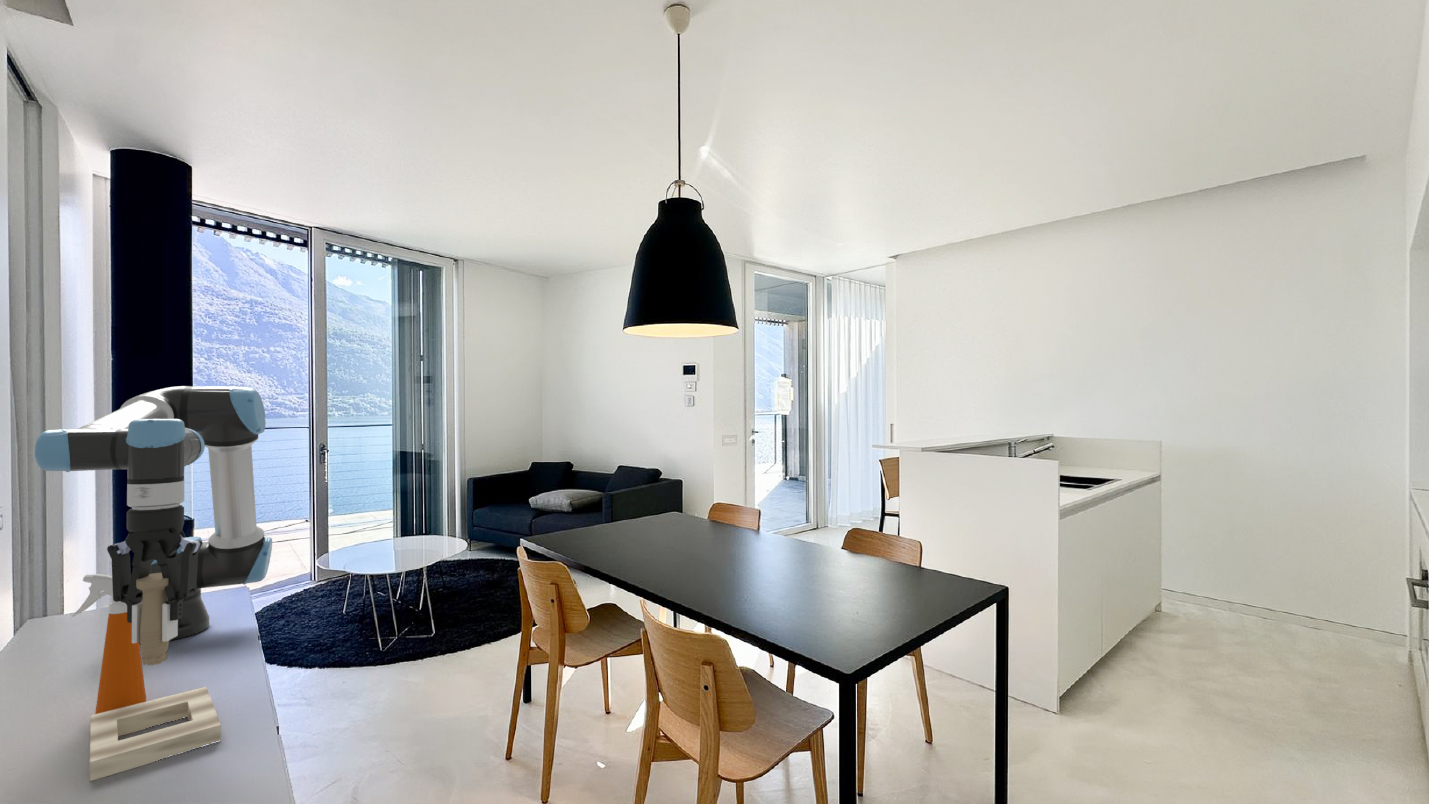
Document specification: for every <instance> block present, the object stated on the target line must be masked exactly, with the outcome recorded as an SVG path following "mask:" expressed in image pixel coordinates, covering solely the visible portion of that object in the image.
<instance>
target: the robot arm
mask: <svg viewBox="0 0 1429 804" xmlns="http://www.w3.org/2000/svg"><path fill="white" fill-rule="evenodd" d="M266 422H267V421H266V410H265V405H264V402H263V400H262V396H261V394H260V393H259V392H258V391H257V390H256V389H255V388H253V387H245V386H243V387H242V386H234V385H231V386H223V385H222V386H219V385H217V386H214V385H213V386H210V385H209V386H206V385H205V386H193V385H192V386H191V385H181V386H180V385H179V386H170V387H164V388H160V389H159V388H158V389H155V390H151V391H148V392H144V393H142V394H139V395H136V396H134V397H132V398H129V399H127V400H126V401H124V403H123V404H121V406H120V408H119V409H117V410H115V411H113V412H111V413H109V414H106V415H104V416H102V417H99V418H98V419H96V420H94V421H92V422H89V423H88V424H85V425H83V426H81V427H77V428H60V429H59V428H58V429H48V430H47V429H46V430H45V431H43V432H41V433H40V434H39V436H38V437H37V439H36V442H35V444H34V445H35V446H34V457H35V462H36V464H37V466H38V467H39V468H40V469H42V470H43V471H47V472H65V473H70V472H84V471H87V472H88V471H107V470H108V471H109V470H126V471H127V473H126V474H127V475H126V476H127V479H126V480H127V481H126V482H127V485H126V486H127V487H126V489H127V490H126V506H128V507H130V509H128V510H127V511H126V530H127V531H128V534H127V536H126V538H125V540H124V541H121V542H117V543H114V544H111V545H108V546H107V548H106V551H107V553H108V555H109V557H110V558H111V576H112V584H113V600H114V601H115V602H119V601H120V602H124V603H126V604H127V621H128V623H132V643H138V642H139V644H140V624H141V613H142V600H143V592H142V590H139V589H137V587H136V580H137V579H140V578H143V577H146V576H148V575H149V574H154V573H162V577H163V578H169V582H168V585H167V586H166V587H165V590H166V595H167V599H168V601H166V602H165V603H164V604H162V642H165V641H174V640H179V639H182V638H186V636H187V637H191V636H193V635H196V634H198V633H197V632H199V633H201V632H203V631H205V630H206V628H207V629H208V628H209V627H210V615H209V613H208V610H207V609H206V606H205V603H204V601H203V599H202V589H206V588H217V587H225V586H226V587H227V586H234V585H235V586H236V585H244V586H245V585H246V584H251V583H252V584H253V583H258V582H262V581H263V580H264V579H265V578H266V576H267V573H268V570H269V566H270V561H271V556H272V551H273V549H272V548H273V538H272V537H271V536H270V537H268V536H265V532H264V530H263V529H262V528H261V527H259V526H257V511H256V501H255V500H256V499H255V498H256V496H255V481H254V480H255V479H254V467H253V465H254V464H253V447H252V445H253V444H254V443H256V442H257V441H258V439H259V435H260V434H263V433H264V432H265V430H266V425H267V424H266ZM205 448H207V449H208V460H209V461H208V462H209V474H210V484H211V499H212V509H213V510H212V511H213V521H214V532H213V533H212V534H211V535H210V536H209V538H208V539H207V540H208V541H207V542H203V539H202V538H201V536H189V537H186V533H184V531H183V528H184V524H185V506H183V505H182V503H183V502H185V467H187V466H190V465H192V464H193V463H195V462H196V461H197V460H199V459H200V458H201V457H202V455H203V454H204V452H205ZM130 551H132V553H133V558H132V562H131V554H130ZM131 566H132V571H131Z"/></svg>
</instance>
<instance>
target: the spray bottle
mask: <svg viewBox="0 0 1429 804" xmlns="http://www.w3.org/2000/svg"><path fill="white" fill-rule="evenodd" d="M82 581H83V582H85V583H89V584H90V586H89V587H88V589H89V595H88V596H87V597H86V599H85V600H84V602H83V603H82V604H81V606H80V607H79V608H78V609H77V610H76V611H75V612H74V613H73V614H72V615H71V617H72V618H73V617H75V616H77V615H79V614H82V613H83V612H84V611H86V610H87V609H89V608H90V607H91V606H92V605H94V604H95V603H96V602H97V601H98V600H99V599H102V597H104V596H107V595H109V596H111V597H110V598H111V599H110V600H111V601H110V602H109V603H108V614H107V615H108V617H107V623H106V630H105V631H106V632H105V638H104V647H103V654H102V660H101V668H100V676H99V683H98V690H97V697H96V706H95V712H94V713H95V714H99V713H103V712H107V711H111V710H115V709H119V708H123V707H127V706H131V705H135V704H139V703H143V702H147V694H146V688H145V687H146V686H145V680H144V679H145V677H144V672H143V671H144V670H143V664H142V659H141V657H142V654H141V646H140V643H139V642H138V643H132V623H128V621H127V604H126V603H124V602H120V601H119V602H115V601H114V600H113V584H112V574H111V575H110V574H101V573H99V572H98V573H95V574H85V575H84V576H83V578H82ZM102 591H103V592H102ZM95 714H94V715H95Z"/></svg>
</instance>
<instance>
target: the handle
mask: <svg viewBox="0 0 1429 804" xmlns="http://www.w3.org/2000/svg"><path fill="white" fill-rule="evenodd" d="M168 582H169V578H163V577H162V573H154V574H149V575H148V576H146V577H143V578H140V579H137V580H136V587H137V589H139V590H142V592H143V600H142V613H141V624H140V643H139V646H140V654H141V662H142V665H144V666H146V665H147V666H153V665H158V664H161V663H163V662H165V661H166V660H167V659H168V653H169V652H168V649H169V644H170V642H169V641H170V640H169V641H165V642H162V604H164V603H165V602H166V601H168V599H167V595H166V590H165V587H166V586H167V585H168Z"/></svg>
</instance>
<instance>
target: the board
mask: <svg viewBox="0 0 1429 804" xmlns="http://www.w3.org/2000/svg"><path fill="white" fill-rule="evenodd" d="M212 700H213V699H212V697H211V695H210V692H209V690H208V688H207V686H203V687H199V688H195V689H191V690H187V691H184V692H180V693H179V692H178V693H176V694H171V695H167V696H163V697H160V698H155V699H150V700H146V702H143V703H139V704H135V705H131V706H127V707H123V708H119V709H115V710H111V711H107V712H103V713H99V714H92V715H90V732H89V733H90V734H89V735H90V741H89V745H90V746H89V782H92V781H95V780H99V779H103V778H106V777H108V776H112V775H115V774H120V773H122V772H126V771H129V770H132V769H135V768H138V767H142V766H145V765H148V764H152V763H155V761H156V762H159V761H161V760H160V759H162V760H164V759H163V758H166V757H168V756H170V755H175V756H177V755H176V754H178V753H181V752H185V751H188V750H190V749H193V748H198V747H201V746H203V745H206V744H211V743H212V742H216V741H219V740H221V741H222V739H221V735H222V733H221V731H222V729H221V727H222V726H221V722H220V719H219V716H218V714H217V711H216V708H215V706H214V703H213V701H212ZM183 717H188V718H187V720H188V721H186V722H185V721H184V722H182V723H178V724H175V725H170V726H167V727H163V728H160V729H155V730H152V731H148V732H145V733H143V734H138V735H135V736H131V737H127V738H124V739H120V740H119V737H121V736H124V735H127V734H131V733H135V732H140V731H143V730H147V729H150V728H149V727H151V728H153V727H152V726H154V727H156V726H155V725H158V726H161V725H160V724H162V725H164V724H163V723H165V722H169V721H173V722H176V721H179V720H178V719H180V720H182V719H181V718H183ZM175 720H176V721H175ZM169 723H170V722H169ZM165 724H166V723H165ZM146 728H147V729H146ZM185 753H186V752H185ZM166 759H167V758H166ZM158 760H159V761H158Z"/></svg>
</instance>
